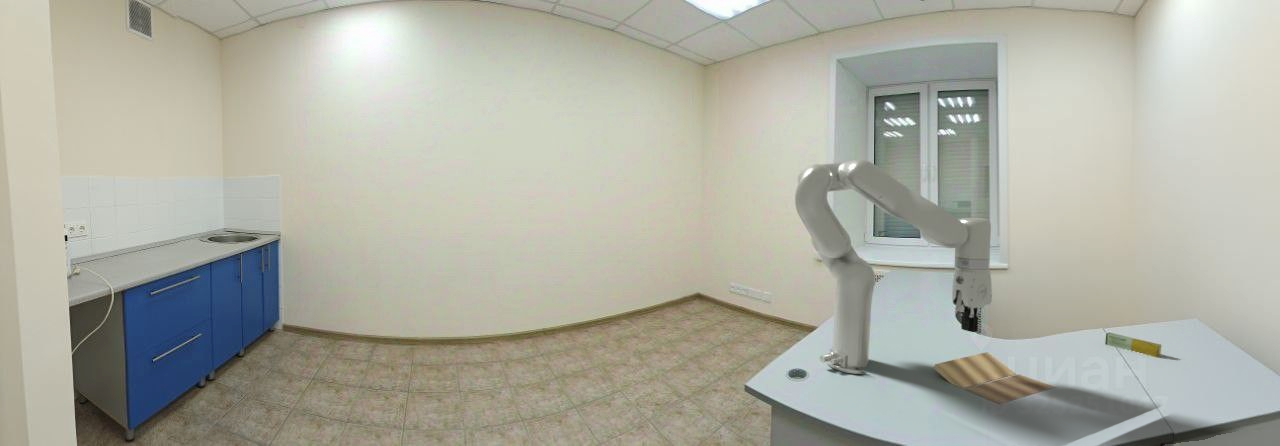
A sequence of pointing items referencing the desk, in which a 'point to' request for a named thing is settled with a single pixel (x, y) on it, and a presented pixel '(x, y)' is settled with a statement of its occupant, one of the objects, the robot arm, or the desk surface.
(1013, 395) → the walnut board
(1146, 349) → the medication box
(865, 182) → the robot arm
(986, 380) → the oak plank
